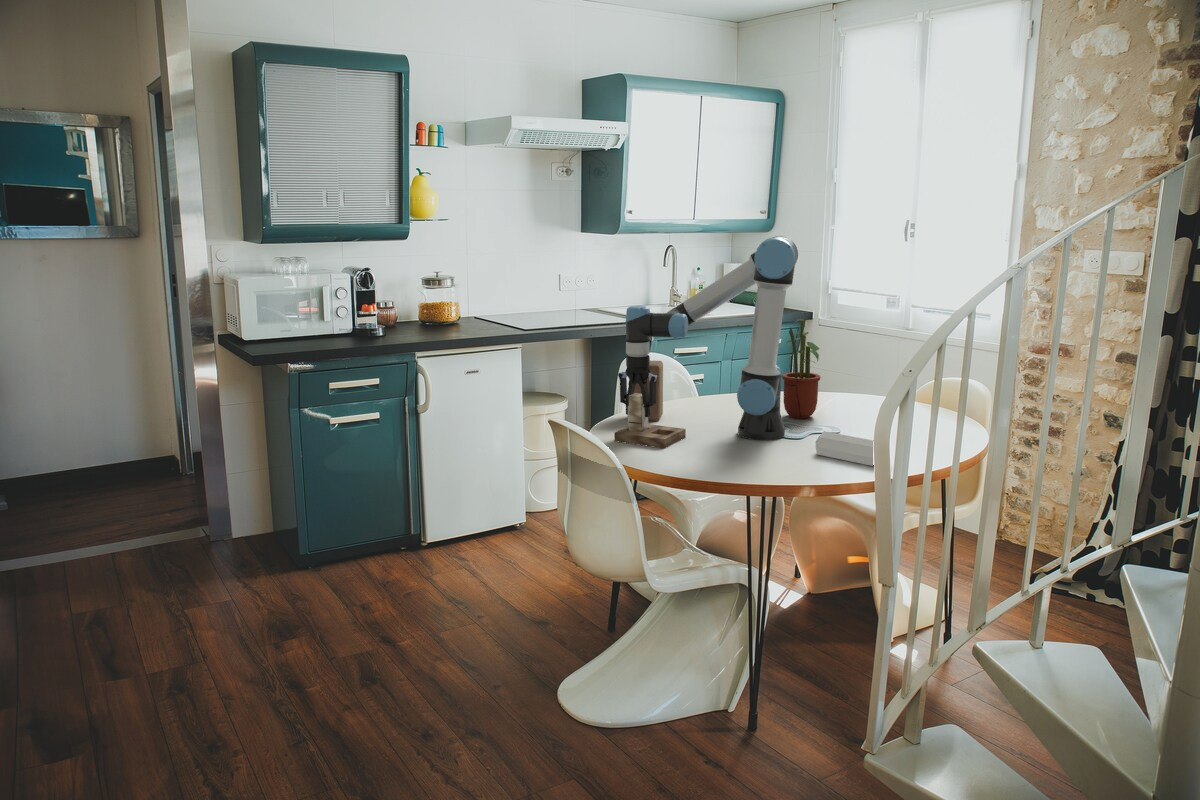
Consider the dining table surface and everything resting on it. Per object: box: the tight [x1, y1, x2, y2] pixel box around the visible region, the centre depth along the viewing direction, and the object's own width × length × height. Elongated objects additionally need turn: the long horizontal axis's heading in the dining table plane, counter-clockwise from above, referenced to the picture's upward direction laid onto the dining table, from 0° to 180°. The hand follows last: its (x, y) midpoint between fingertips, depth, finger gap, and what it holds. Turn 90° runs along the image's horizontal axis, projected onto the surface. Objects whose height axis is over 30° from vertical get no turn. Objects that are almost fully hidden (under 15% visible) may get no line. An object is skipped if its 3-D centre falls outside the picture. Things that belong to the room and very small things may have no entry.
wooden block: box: [634, 360, 664, 422], centre depth 328 cm, size 10×10×20 cm
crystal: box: [815, 430, 874, 467], centre depth 276 cm, size 7×7×24 cm
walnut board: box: [613, 423, 687, 449], centre depth 301 cm, size 18×15×3 cm
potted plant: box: [781, 318, 821, 420], centre depth 328 cm, size 17×16×35 cm
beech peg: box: [628, 393, 647, 432], centre depth 302 cm, size 4×4×12 cm
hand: (638, 425), depth 302 cm, fingers closed on beech peg, 4 cm apart
